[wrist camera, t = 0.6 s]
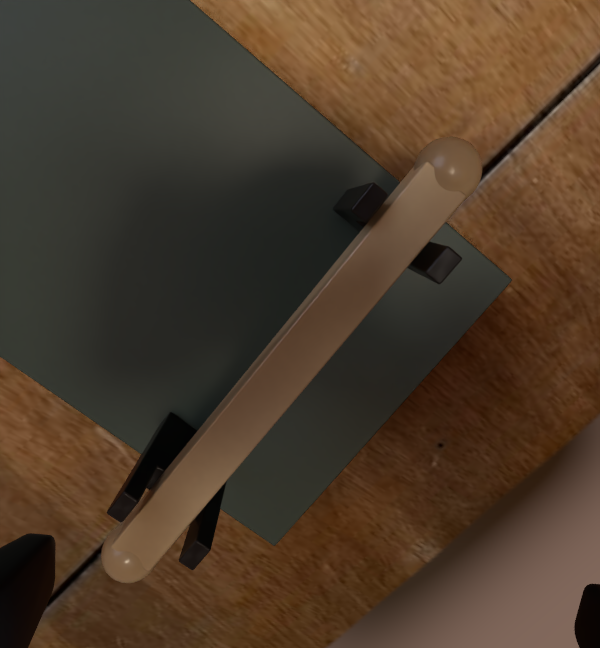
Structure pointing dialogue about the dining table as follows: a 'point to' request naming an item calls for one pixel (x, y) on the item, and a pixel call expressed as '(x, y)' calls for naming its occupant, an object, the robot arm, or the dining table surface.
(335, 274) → the beige rounded rod
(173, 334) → the rack
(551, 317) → the dining table surface
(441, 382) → the dining table surface
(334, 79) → the dining table surface
